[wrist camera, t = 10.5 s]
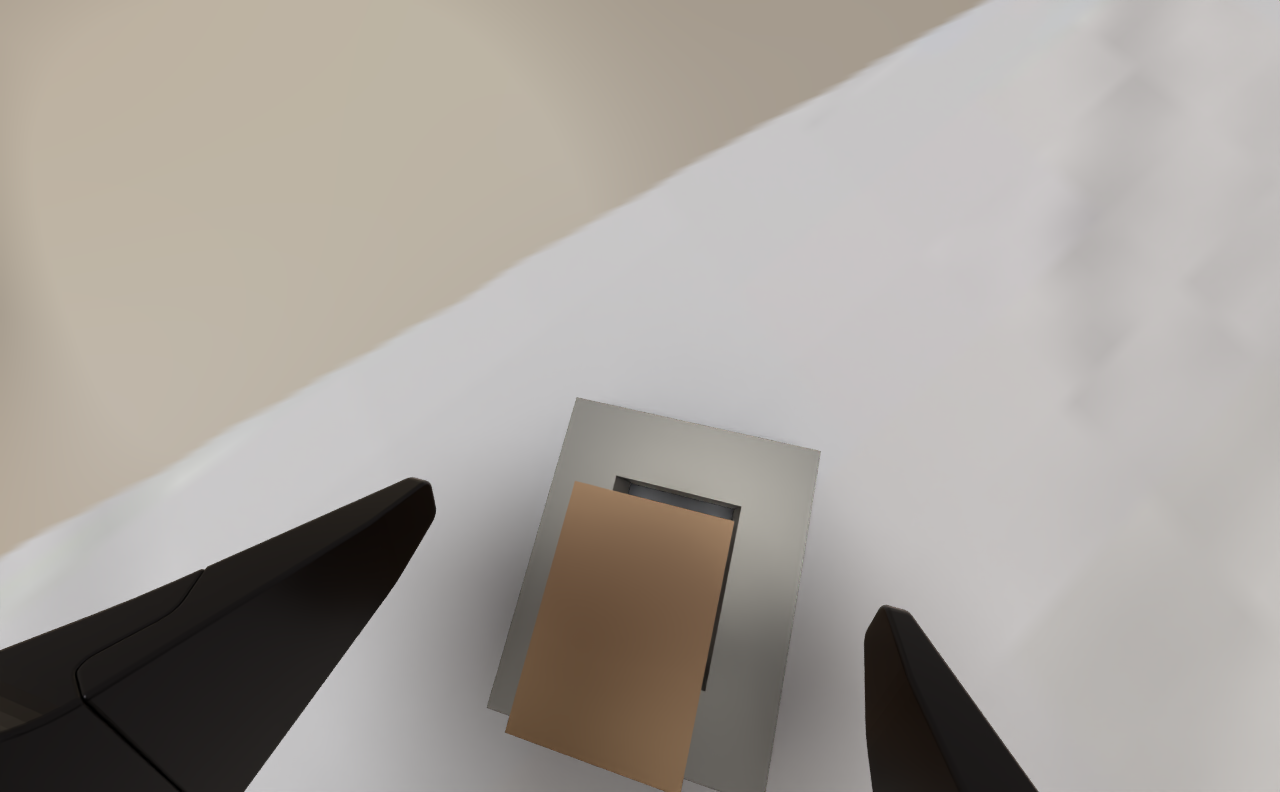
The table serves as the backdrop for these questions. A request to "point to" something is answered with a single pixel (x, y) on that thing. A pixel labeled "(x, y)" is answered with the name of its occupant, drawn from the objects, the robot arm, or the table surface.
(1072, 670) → the table surface
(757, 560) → the grey block with slot
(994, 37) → the table surface
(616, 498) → the brown wooden block
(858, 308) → the table surface
